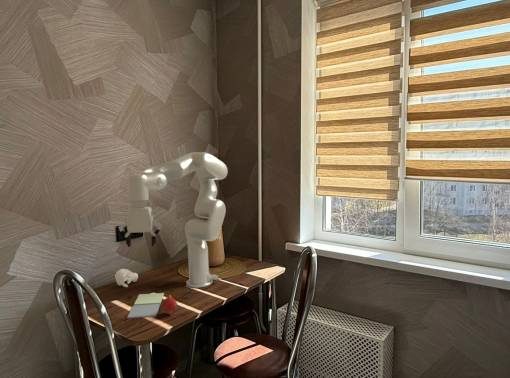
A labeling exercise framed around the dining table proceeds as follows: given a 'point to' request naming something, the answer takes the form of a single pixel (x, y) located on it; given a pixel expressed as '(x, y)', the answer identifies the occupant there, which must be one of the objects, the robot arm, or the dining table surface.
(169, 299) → the onion
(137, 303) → the mat
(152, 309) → the toy mat
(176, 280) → the dining table surface
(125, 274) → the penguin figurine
